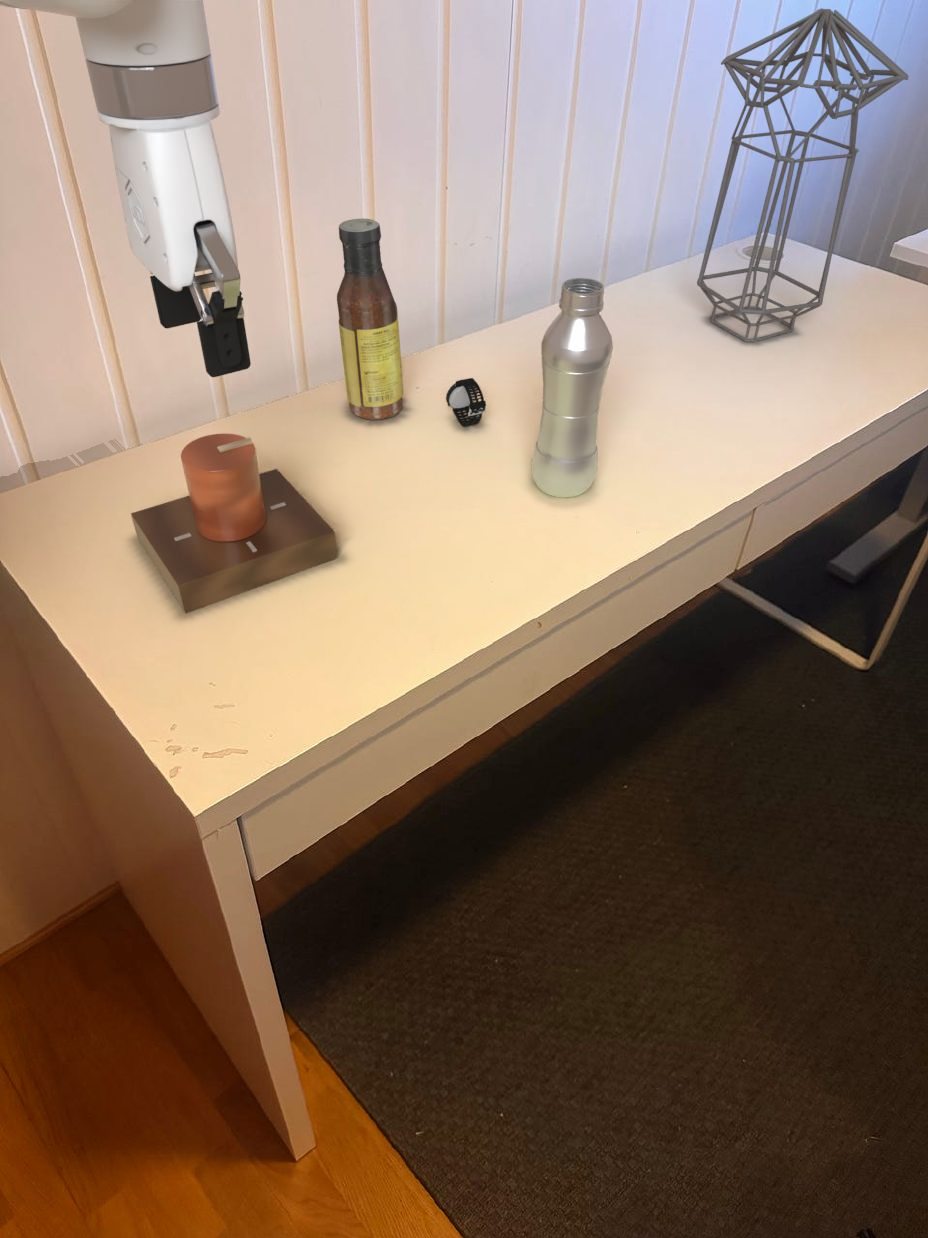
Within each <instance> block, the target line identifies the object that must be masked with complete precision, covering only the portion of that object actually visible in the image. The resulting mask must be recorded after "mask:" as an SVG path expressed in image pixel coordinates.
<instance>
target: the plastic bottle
mask: <svg viewBox="0 0 928 1238" xmlns="http://www.w3.org/2000/svg"><path fill="white" fill-rule="evenodd" d="M604 294H605V285H604V283H602V282H601V281H599V280H596V279H593V278H587V277H574V278H569V279H567V280H565V281H563V283H561V291H560V298H559V300H558V301H559V302H558V307H559V309H560V310H561V311H560V313H559V314H558V315H557V316H556V317H555V318H554V319H553V320H552V322H551V323H550V325H549V326H548V327H547V329H546V330H545V332H544V335H543V338H542V340H541V344H540V345H541V346H540V348H541V349H540V355H541V371H542V373H541V374H542V404H541V405H542V407H541V408H542V409H541V410H542V411H541V417H540V422H539V430H538V433H537V434H538V435H537V440H536V442H535V445H534V449H533V452H532V457H531V463H530V465H531V476H532V479H533V481H534V483H535V484H536V486H537V487H538V489H539V490H541V492H543V493H544V494H546V495H549V496H553V497H556V498H572V497H576V496H580V495H582V494H584V493H585V492H586V491H587V490H588V489H589V488H590V487H591V486H592V485H593V483H594V482H595V478H596V475H597V472H598V469H599V453H598V445H597V443H598V441H597V439H598V417H599V411H600V403H601V400H602V394H603V388H604V385H605V381H606V377H607V375H608V371H609V366H610V364H611V359H612V356H613V351H614V343H613V338H612V337H613V336H612V334H611V332H610V330H609V328H608V325H607V323H606V322H605V321H604V319H603V317H602V316H601V314H600V312H602V311H603V310H604V304H605V303H604Z"/></svg>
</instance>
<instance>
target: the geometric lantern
mask: <svg viewBox="0 0 928 1238" xmlns="http://www.w3.org/2000/svg"><path fill="white" fill-rule="evenodd" d="M814 27H815V29H814ZM813 29H814V33H813V35H812V39H811V42H810V45H809V48H808V50H807V51H805V52H802V53H799V54H797V52H798V51H799V49H800V48H801V47H802V46H803V43H804V42H805V41H806V39H807V38H808V37H809V35H810V33H811V32H812V30H813ZM794 30H795V31H794ZM792 31H793V32H792ZM790 32H792V33H791V34H790V35H789V36H788V37H787V38H786V39H785V40H784V41H783V42H782V43H781V44H779V45H778V47H776V48H775V49H774V50H773V51H772V52H771V53H770V54H769V55H768V56H767V57H766V58H765V59H764V60H763V61H762V60H753V59H746V58H739V57H741V56H743V55H745V54H747V53H749V52H751V51H753V50H755V49H757V48H759V47H761V46H764V45H766V44H767V43H770V42H771V41H774V40H775V39H779V38H780V37H782V36H783V35H786V34H788V33H790ZM820 36H821V49H820V50H821V51H820V53H817V52H815V51H816V48H817V45H818V42H819V40H820ZM849 36H850V37H851V38H850V37H849ZM833 38H834V39H835V41H836V44H837V45H838V47H839V50H840V52H841V54H842V56H843V58H844V60H845V62H844V61H841V60H839V59H838V58H836V53H835V52H836V51H835V46H834V45H835V44H834V39H833ZM851 39H853V40H854V41H856V42H857V43H858V44H859V45H860V46H861V47H862V48H864V49H865V50H866V51H867V52H869V54H871V55H872V56H873V57H874V58H875V59H877V60H878V61H879V63H881V64H882V65H884V66H885V67H886V68H887V69H870V67H869V66H868V64H867V63H866V62H865V59H863V57H862V55H861V53H860V52H859V50H858V49H857V48H856V46H855V45H854V43H853V41H852V40H851ZM786 48H787V49H786ZM785 49H786V50H785ZM827 49H828V54H827ZM848 49H849V50H848ZM784 50H785V52H783V51H784ZM849 51H850V52H849ZM782 52H783V54H782V55H781V56H780V58H779V59H776V58H777V57H778V56H779V55H780V54H781V53H782ZM850 53H851V54H852V55H853V57H854V59H855V61H857V63H858V64H859V66H860V67H861V69H862V71H863V72H864V73H863V72H859V70H858V69H857V68H856V66H855V64H854V63H855V62H854V61H853V59H852V57H851V55H850ZM813 57H819V58H820V57H821V58H820V59H821V60H820V64H819V70H818V76H817V79H816V80H814V82H813V84H809V83H808V84H806V83H805V80H806V77H807V74H808V72H809V69H810V66H811V63H812V61H813ZM798 60H799V62H798V63H797V64H796V66H795V67H794V68H793V69H792V70H791V71H790V72H789V73H788V74H787V76H786V77H785V78H784V75H785V72H786V68H787V67H788V66H789V64H790V63H792V62H796V61H798ZM720 65H721V66H723V65H724V67H725V68H726V70H727V72H728V74H729V76H730V77H731V79H732V81H733V82H734V85H735V86H736V88H737V89H738V91H739V93H740V95H741V96H742V99H743V100H744V106H743V108H742V110H741V113H740V115H739V118H738V121H737V123H736V126H735V128H734V131H733V134H732V136H731V138H730V139H731V143H730V146H729V151H728V154H727V159H726V162H725V168H724V171H723V172H724V173H723V176H722V179H721V184H720V188H719V193H718V197H717V201H716V205H715V207H714V208H715V209H714V211H713V212H714V213H713V217H712V221H711V226H710V229H709V234H708V238H707V242H706V246H705V250H704V254H703V259H702V262H701V266H700V270H699V275H698V278H697V281H696V285H697V287H699V288H700V289H701V291H702V292H703V294H704V295H705V296H706V298H707V299H708V301H709V302H710V303H711V304H712V310H711V315H710V317H709V319H710V322H711V323H712V324H714V325H716V326H718V327H719V328H721V329H723V331H726V332H728V333H729V334H731V335H733V336H735V337H736V338H738V339H740V340H741V341H743V342H745V343H757V342H759V341H762V340H766V339H770V338H774V337H777V336H781V335H784V334H788V333H792V332H794V328H795V327H794V326H795V322H796V319H797V318H798V317H800V316H802V315H805V314H806V313H809V312H811V311H813V310H815V309H817V308H819V307H821V306H822V305H823V301H824V295H825V290H826V286H827V281H828V276H829V271H830V266H831V262H832V256H833V253H834V247H835V244H836V239H837V236H838V232H839V228H840V223H841V219H842V215H843V211H844V207H845V203H846V198H847V195H848V190H849V186H850V182H851V178H852V173H853V169H854V166H855V161H856V158H857V157H856V156H857V153H859V149H858V148H856V142H857V132H858V122H859V112H860V110H861V109H863V108H864V107H866V106H867V105H869V104H870V103H872V102H873V101H875V100H876V99H878V98H879V97H880V96H882V95H883V94H885V93H886V92H887V91H890V89H893V87H895V86H896V85H898V84H899V83H901V82H902V81H904V80H905V81H908V80H909V74H908V73H907V72H906V71H904V70H903V69H902V68H901V67H900V66H899V65H898V64H897V63H896V62H895V61H893V59H891V58H890V57H889V56H888V55H887V54H886V53H884V52H883V51H882V49H880V48H879V47H878V46H877V45H876V44H874V42H872V41H871V40H870V39H869V38H868V37H867V36H866V35H865V34H863V33H862V32H861V31H860V30H859V29H858V28H857V27H856V26H854V25H853V24H852V23H851V22H850V21H849V20H848V19H846V18H845V17H844V15H842V14H841V13H840V12H839V11H838V10H836V9H835V10H832V9H831V8H818V9H817V10H816V11H815V12H813V13H811V14H809V15H807V16H805V17H803V18H801V19H799V20H798V21H795V22H794V23H791V24H790V25H787V26H786V27H784V28H782V29H780V30H777V31H776V32H774V33H772V34H770V35H768V36H766V37H764V38H762V39H760V40H758V41H756V42H754V43H752V44H749V45H748V46H746V47H744V48H741V49H740V50H738V51H735V52H733V53H731V54H729V55H727V56H726V57H725V58H723V60H722V61H721V62H720ZM824 65H825V66H826V69H827V71H828V72H829V74H830V76H831V78H832V80H824V79H822V75H823V69H824ZM749 66H750V67H749ZM751 66H752V67H751ZM768 66H769V67H771V66H773V67H772V68H771V69H770V71H768V73H767V74H765V73H766V68H767V67H768ZM753 67H755V68H753ZM780 67H782V68H781V71H780V74H779V77H778V78H775V77H774V78H773V76H774V75H775V74H776V72H777V71H778V70H779V68H780ZM838 67H839V68H841V69H843V70H845V71H846V72H849V76H850V77H852V78H851V80H850V82H849V83H842V82H841V80H840V78H839V73H838ZM800 69H801V70H800ZM799 70H800V73H799V76H798V78H797V79H792V78H793V77H794V76H795V75H796V74H797V73H798V71H799ZM737 74H739V75H740V76H741V77H742V78H743V79H744V80H746V87H744V85H743V84H742V82H741V80H740V79H739V77H738V75H737ZM875 76H887V77H886V78H881V79H878V80H874V78H875ZM754 77H757V78H759V80H758V81H757V80H756V79H755V78H754ZM863 81H868V82H866V83H864V82H863ZM854 83H855V84H854ZM768 84H769V85H776V86H767V85H768ZM751 85H752V86H753V87H754V88H755V89H756V91H755V93H754V95H753V97H752V100H751V98H750V88H751ZM786 86H787V87H786ZM785 87H786V88H785ZM822 87H827V88H828V87H829V88H830V89H831V90H834V92H837V98H836V99H835V100H834V101H833V102H832V103H830V102H829V100H828V98H827V96H826V94H825V92H824V91H823V88H822ZM745 88H746V89H745ZM797 88H806V89H813V90H814V91H815V92H816V94H817V96H818V98H819V99H820V101H821V103H822V105H823V107H824V108H825V112H823V114H822V115H821V116H820V118H819V119H817V121H816V122H815V124H813V126H812V127H811V128H810V129H809V130H808V131H802V130H796V129H795V127H794V124H793V121H792V119H791V116H790V114H789V111H788V108H787V106H786V104H785V101H784V98H783V97H784V96H786V95H787V94H789V93H791V92H792V91H794V90H796V89H797ZM857 89H858V90H859V91H860V92H859V94H858V95H859V96H858V97H856V96H855V95H853V94H850V93H851V91H856V90H857ZM766 92H768V93H775V94H774V95H773V96H771V97H770V98H768V99H767V100H765V93H766ZM759 96H760V99H759V100H760V101H758V98H759ZM843 99H846V100H848V101H850V102H851V108H850V109H846V110H842V111H840V108H841V107H840V106H841V101H842V100H843ZM778 100H779V101H780V103H781V106H782V108H783V111H784V113H785V116H786V118H787V121H788V124H789V127H790V129H788V130H779V131H775V129H774V125H773V122H772V118H771V117H772V116H771V114H770V110H769V106H770V105H771V104H773V103H775V102H776V101H778ZM747 107H749V108H748V110H747ZM754 108H758V109H759V108H760V109H763V113H764V117H765V120H766V123H767V127H768V131H769V132H760V133H749V134H744V133H745V130H746V128H747V125H748V123H749V120H750V118H751V116H752V112H753V110H754ZM834 109H835V110H834ZM746 110H747V113H746V115H745V112H746ZM744 115H745V118H744V120H743V117H744ZM828 116H829V117H830V118H831V119H832V120H837V119H838V118H842V117H843V118H844V117H847V116H850V128H849V142H848V145H847V144H844V143H841V142H838V141H835V140H832V139H830V138H827V137H823V136H821V135H818V134H814V133H815V131H816V130H817V129H818V128H819V127H820V126H821V125H822V124H823V122H825V120H826V119H827V118H828ZM742 120H743V123H742ZM741 123H742V125H741ZM740 125H741V128H740V129H739V127H740ZM738 129H739V132H738ZM737 133H738V135H737ZM787 134H790V138H789V141H788V144H787V148H786V152H785V155H782V154H781V151H780V147H779V143H778V139H777V136H778V135H780V136H781V135H787ZM736 135H737V136H736ZM796 136H797V137H798V136H799V137H804V138H803V139H802V140H801V141H800V142H799V143H798V145H796V147H795V148H794V149H793V146H794V142H795V139H796ZM761 137H770V139H771V142H772V146H773V150H774V153H775V154H773V153H771V152H768V151H766V150H763V149H761V148H758V147H756V146H753V145H751V144H749V143H747V142H744V141H742V140H743V139H752V138H761ZM810 138H812V139H815V140H819V141H822V142H824V143H827V144H831V145H833V146H836V147H839V148H842V149H845V150H848V153H845V154H844V153H843V154H835V155H834V154H833V155H824V156H816V157H806V155H807V150H808V147H809V142H810ZM802 145H803V146H802ZM740 146H742V147H744V148H747V149H749V150H751V151H754V152H756V153H759V154H761V155H763V156H766V157H769V158H771V159H773V160H774V163H773V166H772V171H771V176H770V179H769V182H768V187H767V191H766V195H765V199H764V203H763V206H762V211H761V215H760V219H759V223H758V227H757V231H756V234H755V235H756V236H755V239H754V244H753V247H752V252H751V256H750V260H749V264H748V267H746V268H739V269H733V270H729V271H722V272H717V273H711V274H705V273H706V270H707V265H708V262H709V258H710V255H711V252H712V248H713V245H714V241H715V237H716V233H717V229H718V226H719V222H720V219H721V215H722V212H723V208H724V204H725V201H726V197H727V193H728V190H729V187H730V183H731V180H732V175H733V172H734V169H735V165H736V161H737V157H738V154H739V151H740ZM801 146H802V150H801V154H800V158H796V159H795V158H794V157H792V156H793V155H795V153H796V152H798V150H799V149H800V148H801ZM792 149H793V150H792ZM837 159H846V160H845V165H844V170H843V173H842V180H841V183H840V190H839V195H838V200H837V203H836V209H835V215H834V218H833V219H834V220H833V225H832V229H831V234H830V239H829V245H828V249H827V254H826V259H825V263H824V267H823V272H822V276H821V279H820V283H819V288H818V290H816V289H814V288H812V287H810V286H808V285H806V284H804V283H802V282H800V281H799V280H796V279H794V278H792V277H790V276H788V275H787V274H784V273H782V272H781V271H779V269H780V265H781V261H782V257H783V254H784V252H783V251H784V248H785V245H786V241H787V237H788V236H787V235H788V232H789V227H790V223H791V219H792V215H793V211H794V206H795V202H796V199H797V193H798V189H799V188H798V187H799V185H800V181H801V176H802V172H803V167H804V165H805V163H808V162H815V161H816V162H819V161H828V160H837ZM780 162H783V163H782V167H781V170H780V174H779V178H778V180H777V184H776V187H775V192H774V195H773V198H772V202H771V197H772V193H773V190H774V185H775V180H776V176H777V172H778V167H779V165H780ZM796 163H798V167H797V169H796V170H797V171H796V175H795V179H794V183H793V188H792V192H791V197H790V201H789V206H788V210H787V205H788V199H789V195H790V190H791V185H792V180H793V175H794V172H795V171H794V170H795V166H796ZM788 164H789V165H788ZM787 168H788V171H787ZM786 171H787V176H786V182H785V186H784V190H783V196H782V201H781V207H780V211H779V217H778V221H777V226H776V232H775V237H774V242H773V247H772V251H771V257H770V261H769V267H768V268H766V267H762V266H760V263H761V259H762V255H763V252H764V249H765V246H766V242H767V238H768V235H769V232H770V228H771V225H772V221H773V218H774V214H775V210H776V206H777V203H778V200H779V196H780V194H781V193H780V192H781V189H782V185H783V183H784V178H785V175H786ZM770 202H771V206H770ZM769 206H770V210H769V213H768V209H769ZM786 210H787V214H786ZM767 213H768V216H767ZM785 215H786V219H785ZM766 217H767V221H766ZM784 219H785V223H784ZM765 221H766V223H765ZM783 224H784V225H783ZM764 225H765V228H764ZM783 226H784V227H783ZM763 230H764V231H763ZM782 231H783V232H782ZM762 233H763V235H762ZM761 237H762V238H761ZM760 241H761V242H760ZM757 272H761V273H766V274H767V277H766V283H765V284H764V286H763V288H762V289H761V291H760V292H759V293H756V286H757V285H756V284H757ZM739 274H746V275H745V280H744V283H743V289H742V291H741V295H737V296H734V297H729V298H726V297H724V296H723V295H721V294H720V293H718V292H717V291H715V290H714V289H712V288H710V287H709V286H707V284H706V283H705V280H711V279H717V278H723V277H727V276H734V275H739ZM752 274H753V275H752ZM752 276H753V277H752ZM776 276H777V277H779V278H781V279H782V280H785V281H786V282H788V283H791V284H793V285H795V286H796V287H798V288H801V289H803V290H805V291H806V292H808V293H810V294H812V295H814V296H815V297H813V298H811V299H810V300H809V301H807V302H806V303H801V304H800V303H799V304H793V305H788V306H786V305H784V304H782V303H780V302H777V301H776V300H773V299H771V298H769V295H770V289H771V284H772V281H773V279H774V277H776ZM751 278H752V287H751V292H749V293H748V290H749V286H750V282H751ZM714 297H715V298H716V299H718V300H717V301H716V299H715V298H714ZM753 297H756V298H757V300H756V303H755V306H753V305H752V300H753ZM746 298H748V302H747V306H745V302H746ZM761 299H762V304H761V307H760V306H759V305H760V302H761ZM736 300H739V304H738V305H737V304H736V303H734V302H733V301H736ZM768 302H769V303H770V304H773V305H775V306H777V307H774V308H773V307H772V308H767V304H768ZM720 304H725V305H727V306H728V307H730V308H731V310H729V309H727V308H724V306H721V305H720ZM717 309H718V310H721V311H722V312H720V313H716V312H717ZM737 312H738V313H739V314H740V315H741V316H742V317H740V316H739V315H738V314H736V313H737ZM782 312H790V313H792V314H790V315H785V316H782V317H779V316H776V315H775V313H782ZM747 314H748V315H749V314H750V315H759V318H758V319H757V321H756V322H750V320H749V318H748V317H747ZM726 315H729V316H731V317H733V318H735V319H736V320H738V321H739V322H741V323H744V325H747V327H746V332H745V337H744V336H742V335H741V334H739V333H737V332H735V331H734V330H733V329H731V328H728V327H727V326H725V325H723V324H722V323H720V322H719V321H717V320H716V318H720V317H723V316H726ZM765 315H767V316H768V317H771V318H772V319H769V320H763V318H764V316H765ZM762 320H763V321H762ZM786 320H790V321H786ZM776 322H780V323H782V324H784V325H785V326H787V327H788V329H784V330H782V331H778V332H774V333H770V334H767V335H763V336H760V337H758V334H759V330H760V326H763V325H767V324H772V323H776ZM751 327H755V332H754V335H753V338H749V336H750V330H751Z"/></svg>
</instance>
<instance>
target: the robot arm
mask: <svg viewBox="0 0 928 1238" xmlns="http://www.w3.org/2000/svg"><path fill="white" fill-rule="evenodd" d="M204 5H205V4H204V0H0V7H7V8H13V9H20V10H30V11H31V10H32V11H37V12H44V13H48V14H56V15H61V16H68V17H73V18H75V21H76V24H77V30H78V34H79V38H80V43H81V46H82V51H83V55H84V58H85V64H86V68H87V73H88V77H89V81H90V86H91V90H92V94H93V98H94V103H95V107H96V111H97V115H98V119H99V121H100V122H102V123H103V124H104V125H108V129H109V139H110V143H111V144H110V145H111V153H112V156H113V158H112V159H113V163H114V170H115V173H116V174H115V175H116V180H117V186H118V190H119V196H120V203H121V207H122V213H123V218H124V222H125V227H126V233H127V238H128V242H129V246H130V249H131V251H132V253H133V255H134V256H135V258H136V259H137V260H138V261H139V262H140V263H141V264H142V265H143V266H144V267H145V268H146V269H147V270H148V271H149V273H150V274H151V275H150V276H149V278H150V283H151V288H152V292H153V297H154V301H155V305H156V310H157V315H158V319H159V320H158V321H159V323H160V325H161V326H162V327H163V328H164V329H172V328H177V327H182V326H185V325H190V324H194V323H196V325H197V331H198V337H199V341H200V346H201V352H202V358H203V362H204V369H205V372H206V373H207V375H208V376H209V377H211V378H217V377H222V376H225V375H230V374H233V373H237V372H241V371H244V370H247V369H250V367H251V357H250V350H249V344H248V338H247V332H246V331H247V330H246V325H245V324H246V323H245V309H244V306H243V300H244V297H242V295H243V292H242V291H241V274H240V270H239V264H238V251H237V245H236V238H235V231H234V226H233V221H232V215H231V209H230V203H229V198H228V193H227V188H226V183H225V179H224V173H223V168H222V165H221V159H220V154H219V151H218V147H217V143H216V138H215V133H214V131H213V130H214V129H213V126H212V122H211V121H212V120H214V119H216V118H217V117H218V116H220V115H221V110H220V104H219V98H218V97H219V96H218V91H217V85H216V77H215V71H214V65H213V59H212V58H213V57H212V50H211V44H210V39H209V30H208V25H207V19H206V12H205V6H204ZM208 270H210V271H211V272H208V273H203V274H199V275H198V274H197V275H196V274H195V273H198V272H204V271H208ZM210 288H215V289H216V291H212V292H211V295H210V298H209V301H208V298H207V296H206V294H205V291H204V290H206V289H210Z"/></svg>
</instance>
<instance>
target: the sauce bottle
mask: <svg viewBox="0 0 928 1238" xmlns="http://www.w3.org/2000/svg"><path fill="white" fill-rule="evenodd" d="M338 237H339V240H340V242H341V245H342V246H341V247H342V254H343V261H344V263H343V269H344V273H343V277H342V280H341V282H340V285H339V288H338V290H337V293H336V304H337V311H338V329H339V337H340V347H341V355H342V364H343V373H344V381H345V388H346V397H347V400H348V402H349V410H350V412H351V414H353V415H355V416H357V417H359V418H361V419H364V420H369V421H383V420H387V419H389V418H393V417H395V416H396V415H398V414H399V413H400V412H401V411H402V409H403V407H404V405H403V396H404V380H403V367H402V366H403V365H402V355H401V354H402V353H401V339H400V329H399V327H400V326H399V314H398V313H399V312H398V306H397V303H396V301H395V298H394V295H393V293H392V290H391V287H390V285H389V281H388V279H387V276H386V273H385V270H384V268H383V263H382V256H381V255H382V253H381V244H380V241H381V240H382V239H381V238H382V232H381V226H380V223H379V222H378V221H376V220H374V219H371V218H353V219H352V218H351V219H348V220H344V221H342V222H341V223H339V224H338Z"/></svg>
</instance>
